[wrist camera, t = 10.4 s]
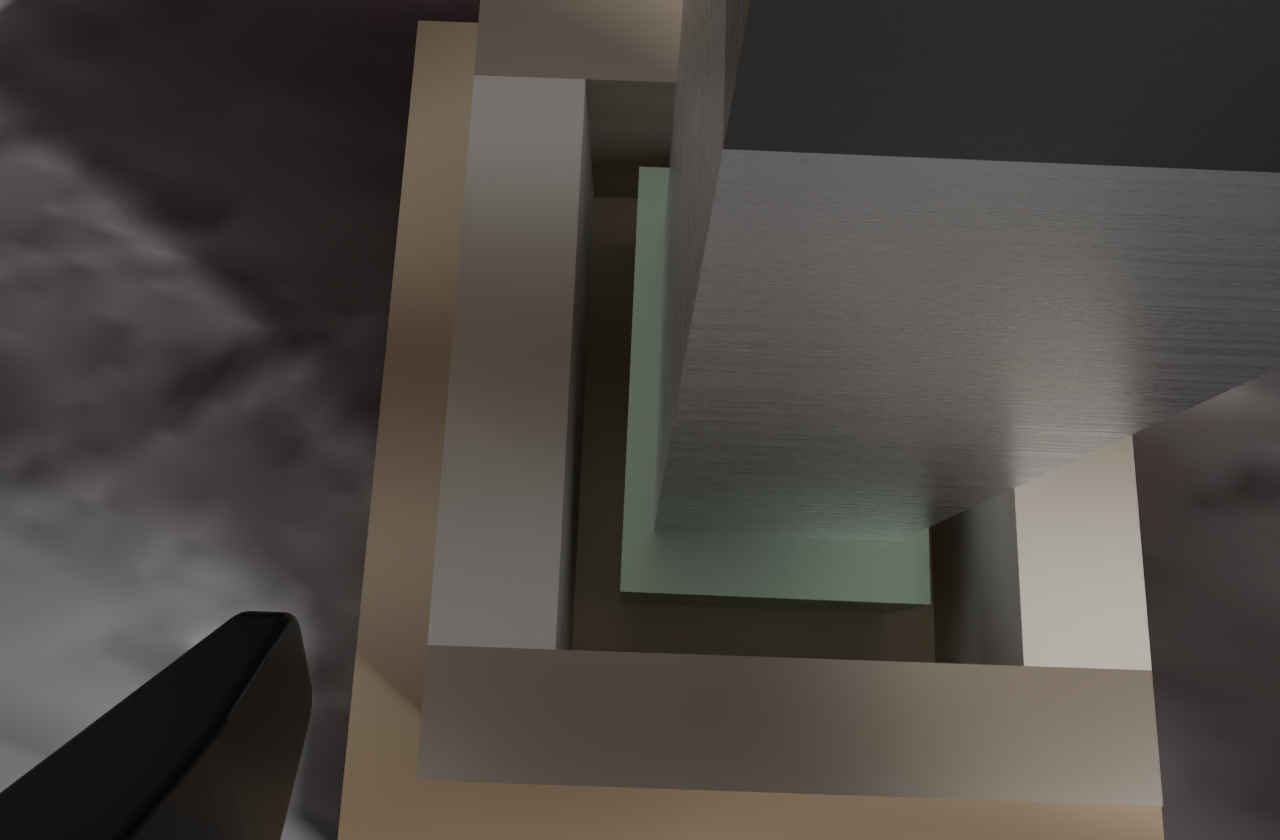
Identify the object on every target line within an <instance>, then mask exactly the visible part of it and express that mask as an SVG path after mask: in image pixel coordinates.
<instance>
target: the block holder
mask: <svg viewBox="0 0 1280 840" xmlns="http://www.w3.org/2000/svg"><path fill="white" fill-rule="evenodd" d="M682 8H683V0H480V10H479V22H478V23H469V22H441V21H418V28H417V38H416V48H415V58H414V68H413V78H412V89H411V99H410V109H409V119H408V129H407V139H406V149H405V160H404V170H403V180H402V190H401V200H400V210H399V221H398V231H397V241H396V251H395V261H394V271H393V281H392V292H391V302H390V312H389V322H388V332H387V342H386V353H385V363H384V373H383V383H382V393H381V403H380V413H379V424H378V434H377V444H376V454H375V464H374V474H373V485H372V495H371V505H370V515H369V525H368V535H367V545H366V556H365V566H364V576H363V586H362V596H361V606H360V617H359V627H358V637H357V647H356V657H355V667H354V677H353V688H352V698H351V708H350V718H349V728H348V738H347V749H346V759H345V769H344V779H343V789H342V799H341V809H340V820H339V830H338V840H1164V832H1163V820H1162V808H1161V806H1163V800H1162V788H1161V776H1160V764H1159V752H1158V740H1157V728H1156V716H1155V704H1154V692H1153V680H1152V668H1151V656H1150V644H1149V632H1148V620H1147V608H1146V597H1145V585H1144V573H1143V561H1142V549H1141V537H1140V525H1139V513H1138V501H1137V489H1136V477H1135V465H1134V453H1133V441H1132V435H1130V436H1128V437H1125V438H1123V439H1121V440H1119V441H1117V442H1114V443H1112V444H1110V445H1108V446H1106V447H1103V448H1101V449H1099V450H1097V451H1095V452H1092V453H1090V454H1088V455H1086V456H1084V457H1082V458H1079V459H1077V460H1075V461H1073V462H1071V463H1068V464H1066V465H1064V466H1062V467H1060V468H1057V469H1055V470H1053V471H1051V472H1049V473H1047V474H1044V475H1042V476H1040V477H1038V478H1036V479H1033V480H1031V481H1029V482H1027V483H1025V484H1022V485H1020V486H1018V487H1016V488H1014V489H1011V490H1009V491H1007V492H1005V493H1003V494H1001V495H998V496H996V497H994V498H992V499H990V500H987V501H985V502H983V503H981V504H979V505H976V506H974V507H972V508H970V509H968V510H966V511H963V512H961V513H959V514H957V515H955V516H952V517H950V518H948V519H946V520H944V521H941V522H939V523H937V524H935V525H933V526H930V527H929V560H930V597H931V605H926V606H921V607H916V608H911V609H906V610H901V611H896V612H891V613H885V614H871V613H848V612H824V611H800V610H777V609H753V608H729V607H705V606H682V605H658V604H634V603H622V602H621V594H620V583H621V561H622V539H623V517H624V495H625V472H626V450H627V428H628V406H629V384H630V362H631V339H632V317H633V295H634V273H635V251H636V229H637V206H638V184H639V167H661V168H670V156H671V143H672V131H673V119H674V106H675V94H676V82H677V69H678V57H679V45H680V32H681V20H682Z"/></svg>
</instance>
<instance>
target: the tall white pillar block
mask: <svg viewBox="0 0 1280 840" xmlns="http://www.w3.org/2000/svg"><path fill="white" fill-rule="evenodd" d="M1279 367H1280V0H683V8H682V20H681V32H680V45H679V57H678V69H677V82H676V94H675V106H674V119H673V131H672V143H671V156H670V168H661V167H639V184H638V206H637V229H636V251H635V273H634V295H633V317H632V339H631V362H630V384H629V406H628V428H627V450H626V472H625V495H624V517H623V539H622V561H621V583H620V594H621V602H622V603H634V604H658V605H682V606H705V607H729V608H753V609H777V610H800V611H824V612H848V613H871V614H885V613H891V612H896V611H901V610H906V609H911V608H916V607H921V606H926V605H931V597H930V560H929V527H930V526H933V525H935V524H937V523H939V522H941V521H944V520H946V519H948V518H950V517H952V516H955V515H957V514H959V513H961V512H963V511H966V510H968V509H970V508H972V507H974V506H976V505H979V504H981V503H983V502H985V501H987V500H990V499H992V498H994V497H996V496H998V495H1001V494H1003V493H1005V492H1007V491H1009V490H1011V489H1014V488H1016V487H1018V486H1020V485H1022V484H1025V483H1027V482H1029V481H1031V480H1033V479H1036V478H1038V477H1040V476H1042V475H1044V474H1047V473H1049V472H1051V471H1053V470H1055V469H1057V468H1060V467H1062V466H1064V465H1066V464H1068V463H1071V462H1073V461H1075V460H1077V459H1079V458H1082V457H1084V456H1086V455H1088V454H1090V453H1092V452H1095V451H1097V450H1099V449H1101V448H1103V447H1106V446H1108V445H1110V444H1112V443H1114V442H1117V441H1119V440H1121V439H1123V438H1125V437H1128V436H1130V435H1132V434H1134V433H1136V432H1138V431H1141V430H1143V429H1145V428H1147V427H1149V426H1152V425H1154V424H1156V423H1158V422H1160V421H1163V420H1165V419H1167V418H1169V417H1171V416H1173V415H1176V414H1178V413H1180V412H1182V411H1184V410H1187V409H1189V408H1191V407H1193V406H1195V405H1198V404H1200V403H1202V402H1204V401H1206V400H1209V399H1211V398H1213V397H1215V396H1217V395H1219V394H1222V393H1224V392H1226V391H1228V390H1230V389H1233V388H1235V387H1237V386H1239V385H1241V384H1244V383H1246V382H1248V381H1250V380H1252V379H1255V378H1257V377H1259V376H1261V375H1263V374H1265V373H1268V372H1270V371H1272V370H1274V369H1276V368H1279Z"/></svg>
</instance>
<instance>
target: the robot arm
mask: <svg viewBox="0 0 1280 840" xmlns="http://www.w3.org/2000/svg"><path fill="white" fill-rule="evenodd" d="M311 708H312V688H311V682H310V677H309V672H308V666H307V661H306V655H305V650H304V645H303V639H302V634H301V629H300V625H299V623H298V621H297V619H296V617H294V616H293V615H291V614H289V613H286V612H260V611H247V612H242V613H239V614H237V615H235V616H234V617H232V618H231V619H229V620H228V621H227V622H225V623H224V624H223V625H221V626H220V627H219V628H217V629H216V630H215V631H214V632H212V633H211V634H210V635H208V636H207V637H206V638H204V639H203V640H202V641H200V642H199V643H198V644H196V645H195V646H194V647H192V648H191V649H190V650H188V651H187V652H186V653H184V654H183V655H182V656H181V657H179V658H178V659H177V660H175V661H174V662H173V663H171V664H170V665H169V666H167V667H166V668H165V669H163V670H162V671H161V672H159V673H158V674H157V675H155V676H154V677H153V678H151V679H150V680H149V681H148V682H146V683H145V684H144V685H142V686H141V687H140V688H138V689H137V690H136V691H134V692H133V693H132V694H130V695H129V696H128V697H126V698H125V699H124V700H122V701H121V702H120V703H118V704H117V705H116V706H115V707H113V708H112V709H111V710H109V711H108V712H107V713H105V714H104V715H103V716H101V717H100V718H99V719H97V720H96V721H95V722H93V723H92V724H91V725H89V726H88V727H87V728H85V729H84V730H83V731H82V732H80V733H79V734H78V735H76V736H75V737H74V738H72V739H71V740H70V741H68V742H67V743H66V744H64V745H63V746H62V747H60V748H59V749H58V750H56V751H55V752H54V753H52V754H51V755H50V756H49V757H47V758H46V759H45V760H43V761H42V762H41V763H39V764H38V765H37V766H35V767H34V768H33V769H31V770H30V771H29V772H27V773H26V774H25V775H23V776H22V777H21V778H19V779H18V780H17V781H15V782H14V783H13V784H12V785H10V786H9V787H8V788H6V789H5V790H4V791H2V792H1V793H0V840H280V839H281V835H282V831H283V827H284V823H285V819H286V814H287V810H288V806H289V802H290V798H291V794H292V790H293V786H294V782H295V778H296V774H297V770H298V766H299V762H300V758H301V754H302V749H303V745H304V741H305V737H306V733H307V729H308V725H309V721H310V716H311Z"/></svg>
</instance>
